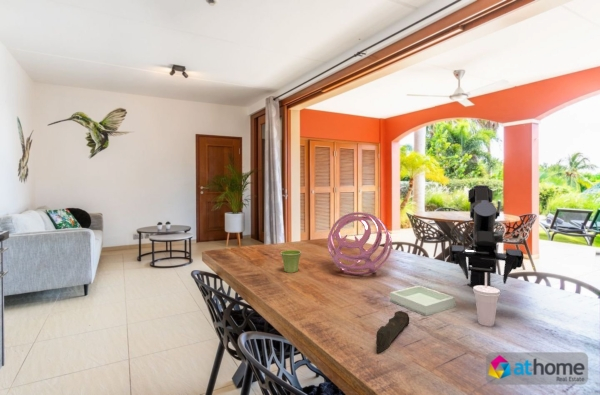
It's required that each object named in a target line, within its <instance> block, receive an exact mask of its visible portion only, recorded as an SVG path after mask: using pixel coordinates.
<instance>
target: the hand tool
mask: <svg viewBox="0 0 600 395" xmlns="http://www.w3.org/2000/svg"><path fill="white" fill-rule="evenodd" d="M409 325H410V315H409V314H408V313H407V312H406V311H403V310H397V311H395V312H394V315H393V317H392V318H389V319H388V322H387V323H386V324H385V325H382V326H380V328H378V329H377V332H376V340H375V344H376V353H377V354H380V353H382V352H384V351H385V350H386V349H388V348H389V347H391V342H392V341H393V340H394V339H395V338H396V337H397V336H398V334H399V333H400V332H401V331H402V330H403V329H404V327H405V326H406V327H408V326H409Z"/></svg>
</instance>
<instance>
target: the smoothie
mask: <svg viewBox="0 0 600 395" xmlns="http://www.w3.org/2000/svg"><path fill="white" fill-rule="evenodd" d="M490 286H491V285H490ZM490 286H487V273H486V272H485V286H483V285H478V286H474V287H472V288H473V290H472V292H474V298H475V304H476V314H477V322H478V324H480V325H482V326H484V327H494V326H495V320H496V313H497V307H498V301H499V296H500V295H501V291H500V289H499V288H497V287H495V286H493V287H490Z"/></svg>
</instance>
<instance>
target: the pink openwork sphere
mask: <svg viewBox="0 0 600 395" xmlns="http://www.w3.org/2000/svg"><path fill="white" fill-rule="evenodd" d="M356 221H358V222H360V223H361V224H362V225H363V227H364V232H363V235H362V237H360V238H359V239H358V238H357V236H356V235H354V240H355V241H354V242H350V241H347V240H346V239H347V238H348V234H346V235H344V237H342V236H341V230H342V228H344V227H346V225H348V224H350V223H353V222H356ZM368 221H369V222H373V224H374V226H375V228H376V238H375V241H374V243H373V244H372V246H371V247H370V248H369V249H365V248H364V245H365V244H366V243H367V242H368V241H369V239H370V236H371V234H372V233H371V232H372V228H371V225H370V223H369V222H368ZM334 229H335V230H334ZM382 229H383V230H384V234H385V241H384V242H385V243H384V246H383V248H382V250H381V252H380V253H379V255H378V256H376V257H375V258H374V259H373V260H372V259H371V257H372V255H374V254H375V252H376V251H377V250H378V248H379V247H380V245H381V242H382V239H383V238H382V237H383V230H382ZM334 240H336V241H337V243H338V245H337V247H336V246H335V244H334ZM392 246H393V242H392V236H391V233H390V231H389V230H388V229H387V226H386V225H385V224H384V222H383V221H382V220H381V219H380V218H379V217H377V216H376V215H374V214H371V213H368V212H361V211H358V212H357V211H355V212H349V213H347V214H344V215H342V216H341V217H340V218H338V219H337V220H336V221H335V222H334V224H333V225H332V227H331V228H330V230H329V233H328V237H327V250H328V254H329V255H330V257H331V259H332V262H333V263H334V264H335V266H336V267H337V268H338V269H340V270H341V271H343V272H344V273H346V274H349V275H353V276H365V275H369V274H375V273H377V271H378V270H379V269H380V268H382V267H383V266H384V265H385V264H386V263H387V261H388V259H389V258H390V256H391V252H392V249H393V247H392ZM342 248H345V249H349V250H353V249H358V250H359V252H360V253H359V254H353V255H351V254H345V253H343V252H342ZM383 258H384V259H383ZM340 259H342V260H344V261H349V262H353V263H352V264H345V263H343V262H341V261H340ZM382 259H383V261H381V260H382ZM361 261H364V262H365V263H364V264H362V265H359V263H360V262H361ZM380 261H381V262H380ZM378 263H379V264H378ZM377 264H378V265H377ZM376 265H377V266H376ZM363 270H367V271H363ZM354 271H355V272H354ZM357 271H363V272H357Z"/></svg>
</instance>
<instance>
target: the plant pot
mask: <svg viewBox="0 0 600 395" xmlns="http://www.w3.org/2000/svg"><path fill="white" fill-rule="evenodd" d="M301 254H302V251H300V250H297V249H290V250H289V249H288V250H282V251H280V255H281V257H282V258H281V259H282V263H283V269H284V272H286V273H288V274H289V273H291V274H292V273H296V272H299V265H300V264H299V263H300V257H301Z"/></svg>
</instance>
